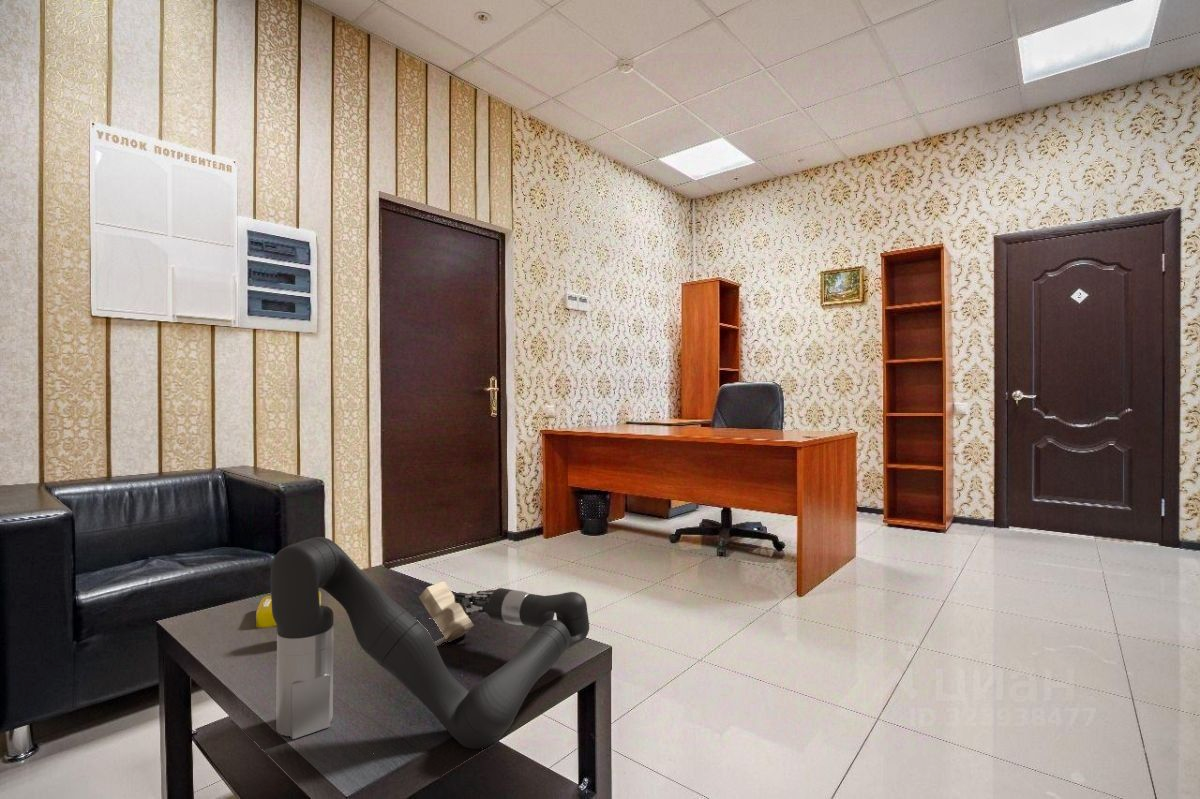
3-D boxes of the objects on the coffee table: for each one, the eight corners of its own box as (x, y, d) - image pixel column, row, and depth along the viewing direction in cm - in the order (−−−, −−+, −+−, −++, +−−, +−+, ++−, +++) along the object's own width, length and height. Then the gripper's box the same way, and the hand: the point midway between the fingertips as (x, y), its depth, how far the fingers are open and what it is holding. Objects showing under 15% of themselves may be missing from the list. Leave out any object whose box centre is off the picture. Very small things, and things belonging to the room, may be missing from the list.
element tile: (262, 611, 162) (262, 594, 162) (321, 603, 168) (321, 587, 168) (254, 630, 148) (254, 612, 148) (319, 621, 154) (319, 603, 154)
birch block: (474, 625, 143) (444, 580, 148) (457, 633, 138) (427, 587, 143) (465, 634, 145) (435, 590, 149) (448, 643, 139) (418, 597, 144)
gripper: (495, 632, 129) (437, 621, 137) (529, 613, 141) (474, 603, 149) (494, 599, 129) (437, 590, 137) (528, 582, 141) (473, 575, 149)
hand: (456, 597), depth 143 cm, fingers closed
